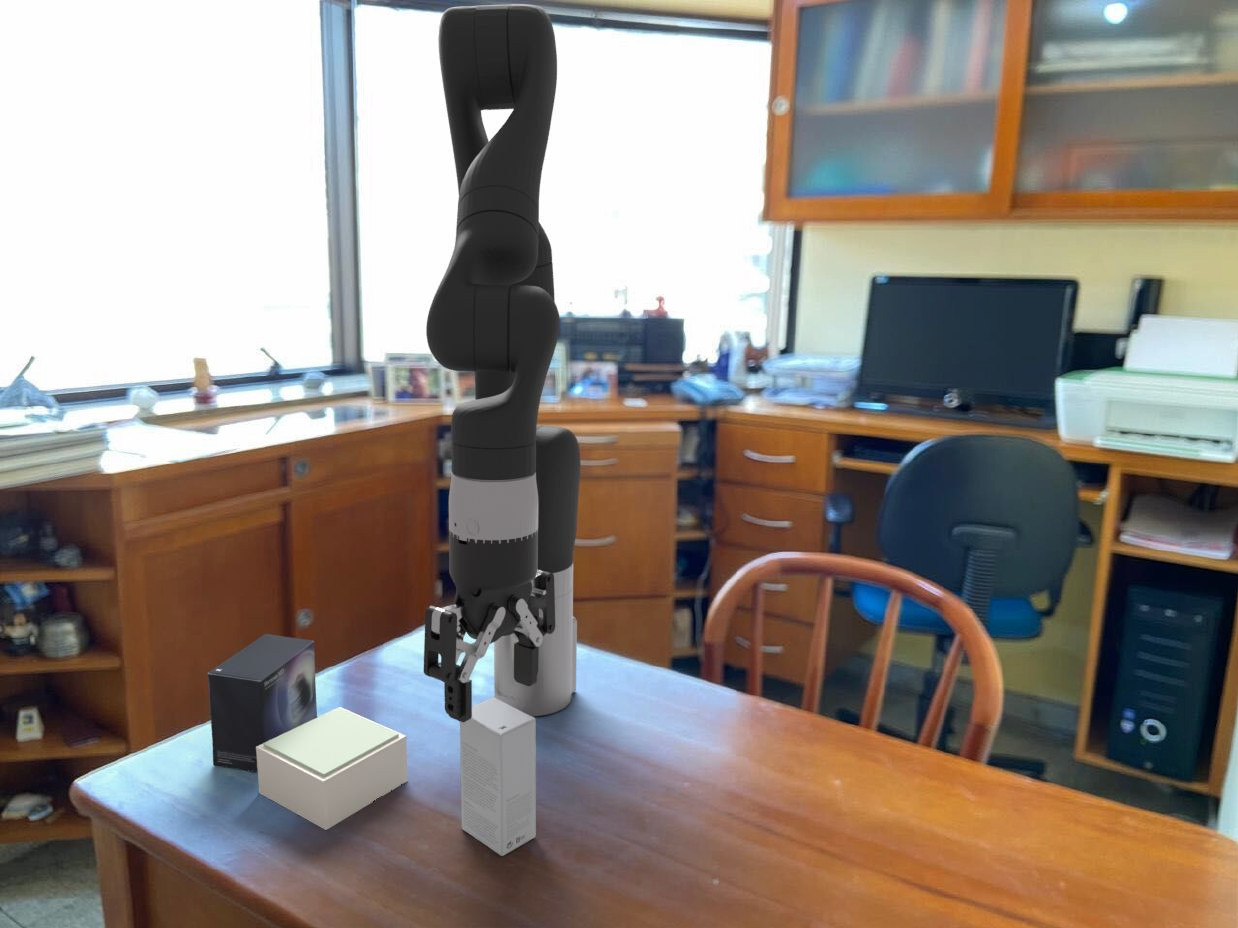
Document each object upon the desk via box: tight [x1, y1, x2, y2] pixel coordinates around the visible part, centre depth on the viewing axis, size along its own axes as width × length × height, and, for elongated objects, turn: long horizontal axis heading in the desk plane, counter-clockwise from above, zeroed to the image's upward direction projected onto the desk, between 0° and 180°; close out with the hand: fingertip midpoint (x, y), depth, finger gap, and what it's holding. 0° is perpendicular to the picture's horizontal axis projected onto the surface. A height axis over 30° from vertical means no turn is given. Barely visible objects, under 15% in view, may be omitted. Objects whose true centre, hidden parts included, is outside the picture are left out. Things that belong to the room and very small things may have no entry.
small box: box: [207, 633, 318, 773], centre depth 97 cm, size 11×6×10 cm, turn 168°
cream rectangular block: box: [256, 706, 408, 831], centre depth 90 cm, size 10×10×5 cm
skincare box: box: [459, 697, 537, 857], centre depth 83 cm, size 6×4×12 cm
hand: (493, 700), depth 81 cm, fingers open, 8 cm apart
